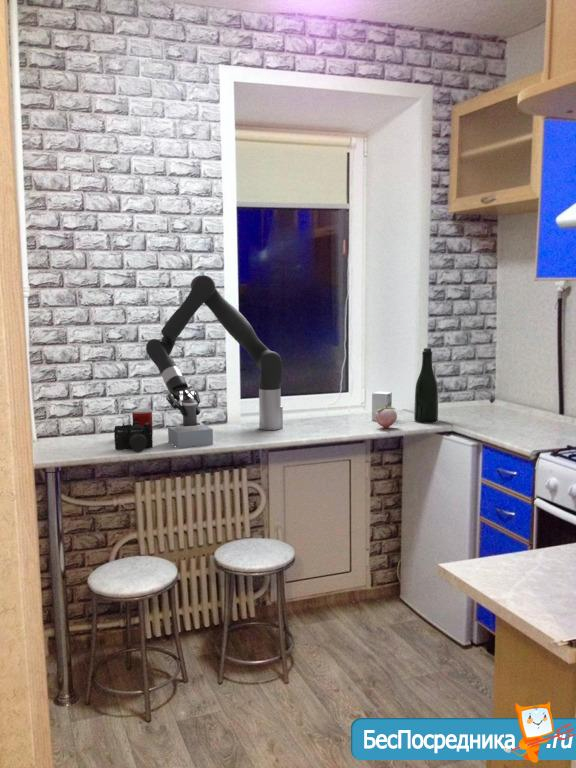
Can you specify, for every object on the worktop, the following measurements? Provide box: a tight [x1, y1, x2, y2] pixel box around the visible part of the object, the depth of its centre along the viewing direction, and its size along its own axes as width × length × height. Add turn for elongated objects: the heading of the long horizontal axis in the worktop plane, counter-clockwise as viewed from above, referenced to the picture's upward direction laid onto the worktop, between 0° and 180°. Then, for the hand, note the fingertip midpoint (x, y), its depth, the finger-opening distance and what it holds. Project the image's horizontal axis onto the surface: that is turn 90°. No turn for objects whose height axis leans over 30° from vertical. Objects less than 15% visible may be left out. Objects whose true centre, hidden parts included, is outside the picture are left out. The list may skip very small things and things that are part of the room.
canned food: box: [131, 408, 154, 436], centre depth 273 cm, size 8×8×11 cm
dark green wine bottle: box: [413, 347, 439, 424], centre depth 301 cm, size 10×10×33 cm
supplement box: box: [371, 391, 393, 422], centre depth 307 cm, size 7×7×13 cm
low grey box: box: [167, 421, 214, 449], centre depth 261 cm, size 14×12×8 cm
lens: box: [182, 399, 198, 426], centre depth 260 cm, size 5×5×10 cm
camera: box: [113, 421, 154, 452], centre depth 251 cm, size 14×11×10 cm
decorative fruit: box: [375, 405, 398, 429], centre depth 288 cm, size 9×8×10 cm
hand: (192, 414), depth 259 cm, fingers closed on lens, 5 cm apart
